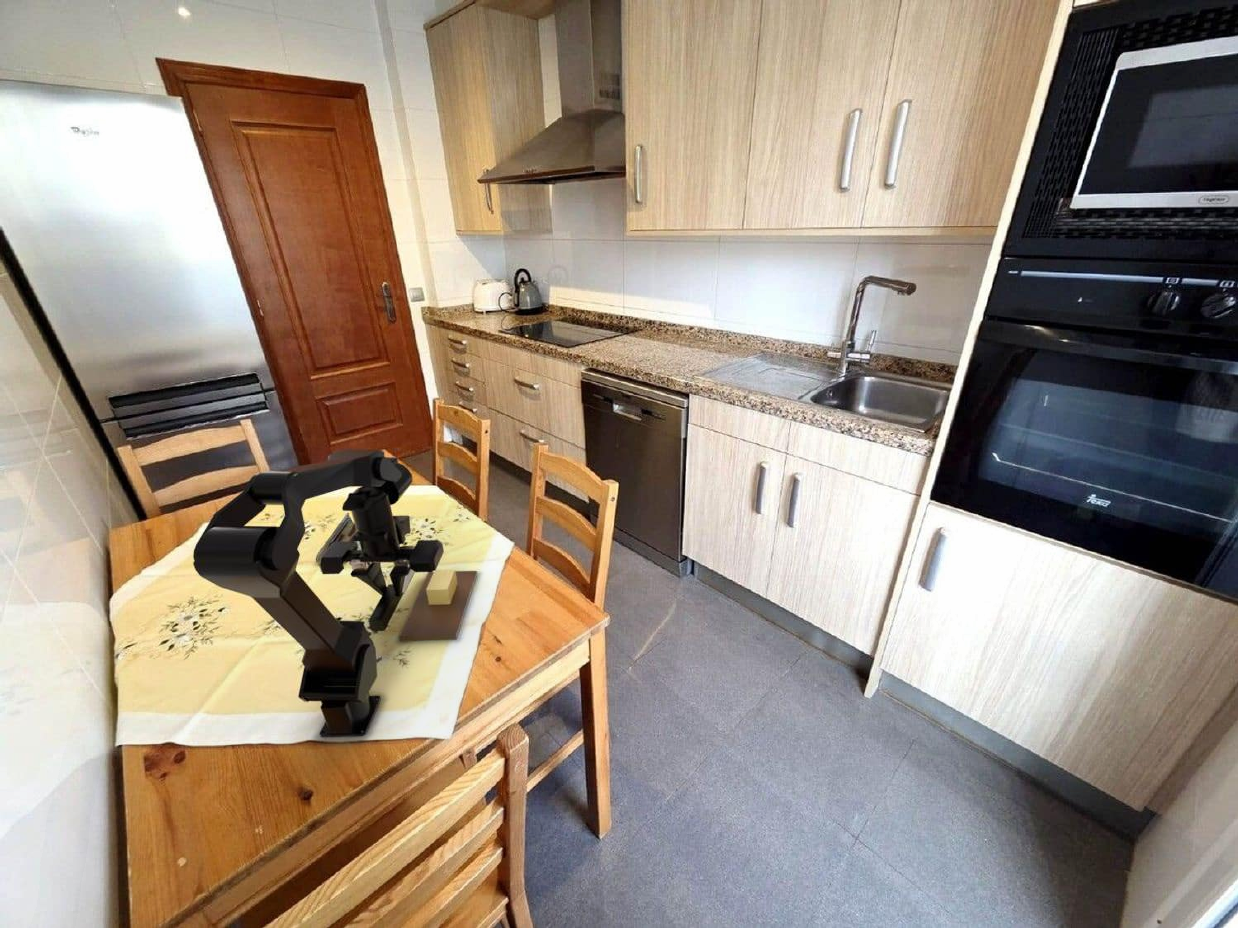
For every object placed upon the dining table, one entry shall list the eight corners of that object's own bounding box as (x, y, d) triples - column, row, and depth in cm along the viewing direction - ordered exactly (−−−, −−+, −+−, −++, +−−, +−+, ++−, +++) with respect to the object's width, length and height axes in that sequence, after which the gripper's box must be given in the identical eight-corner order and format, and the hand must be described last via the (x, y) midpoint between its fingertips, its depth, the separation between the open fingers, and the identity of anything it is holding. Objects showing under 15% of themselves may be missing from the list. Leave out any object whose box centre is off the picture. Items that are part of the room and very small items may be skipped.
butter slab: (448, 594, 95) (447, 589, 94) (426, 594, 95) (425, 589, 94) (456, 573, 100) (455, 568, 100) (435, 574, 100) (434, 569, 100)
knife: (385, 631, 83) (382, 620, 82) (370, 631, 83) (367, 620, 81) (424, 553, 101) (422, 544, 100) (411, 554, 101) (409, 544, 100)
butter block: (450, 604, 96) (448, 594, 95) (429, 604, 96) (426, 594, 95) (457, 583, 101) (456, 573, 100) (437, 584, 101) (435, 574, 100)
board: (456, 639, 90) (455, 635, 89) (399, 641, 89) (398, 636, 89) (477, 574, 106) (476, 570, 105) (429, 575, 105) (428, 571, 105)
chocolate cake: (342, 573, 106) (369, 520, 109) (312, 561, 106) (339, 509, 109) (362, 575, 115) (386, 526, 118) (334, 564, 116) (359, 516, 119)
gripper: (445, 495, 89) (457, 565, 96) (338, 496, 89) (358, 567, 96) (426, 530, 79) (441, 605, 86) (305, 532, 79) (330, 608, 86)
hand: (392, 595), depth 89 cm, fingers closed on knife, 2 cm apart
